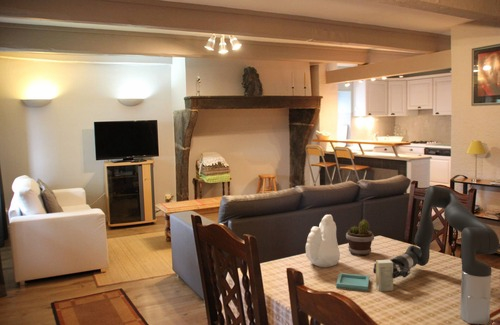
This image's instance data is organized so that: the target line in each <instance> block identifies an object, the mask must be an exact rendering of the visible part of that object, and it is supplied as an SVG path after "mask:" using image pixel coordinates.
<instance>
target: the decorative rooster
mask: <svg viewBox="0 0 500 325" xmlns="http://www.w3.org/2000/svg"><path fill="white" fill-rule="evenodd" d="M305 257H306V258H307V259H308V260H309V261H310V263H311V264H312V265H314V266H317V267H319V268H321V267H322V268H331V267H333V266H336V265H337V264H338V263H339V261H340V259H341V251H340V248H339V244H338V239H337V225H336V222H335V221H334V218H333V215H332V214H325V215H324V216H323V217H322V218H321V221H320V222H319V226H312V227H311V228H310V232H309V233H308V236H307V239H306V243H305Z"/></svg>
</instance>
